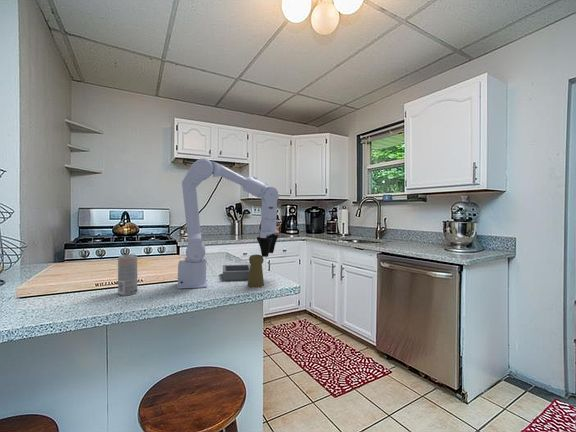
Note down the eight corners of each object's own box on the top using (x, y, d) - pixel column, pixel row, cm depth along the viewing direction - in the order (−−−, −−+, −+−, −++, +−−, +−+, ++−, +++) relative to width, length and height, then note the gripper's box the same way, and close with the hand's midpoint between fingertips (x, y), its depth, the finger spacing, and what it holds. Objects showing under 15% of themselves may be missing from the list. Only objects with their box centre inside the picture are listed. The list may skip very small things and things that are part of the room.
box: (222, 281, 107) (223, 271, 106) (222, 273, 117) (222, 265, 117) (252, 280, 109) (252, 271, 109) (249, 272, 120) (249, 264, 120)
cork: (263, 287, 100) (263, 256, 99) (245, 287, 100) (246, 256, 99) (264, 283, 106) (265, 253, 105) (248, 282, 106) (249, 253, 105)
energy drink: (134, 289, 94) (134, 253, 94) (139, 293, 91) (139, 256, 90) (116, 292, 91) (115, 255, 90) (120, 297, 87) (120, 258, 86)
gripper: (274, 220, 99) (273, 259, 100) (283, 218, 114) (282, 252, 114) (255, 219, 101) (254, 257, 101) (266, 217, 115) (265, 251, 116)
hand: (267, 254), depth 108 cm, fingers open, 7 cm apart
